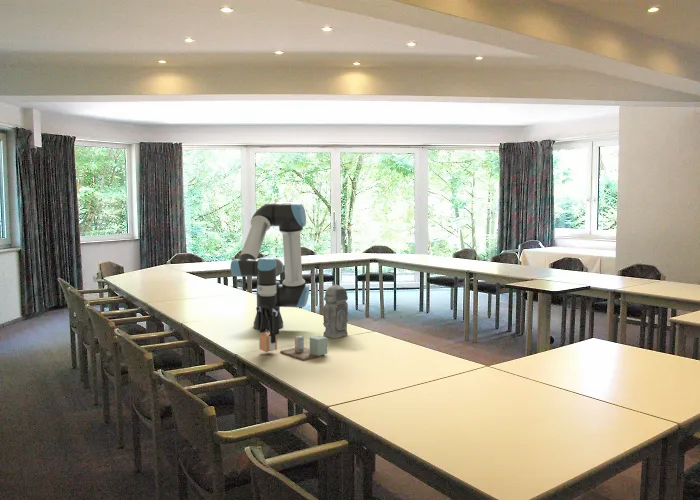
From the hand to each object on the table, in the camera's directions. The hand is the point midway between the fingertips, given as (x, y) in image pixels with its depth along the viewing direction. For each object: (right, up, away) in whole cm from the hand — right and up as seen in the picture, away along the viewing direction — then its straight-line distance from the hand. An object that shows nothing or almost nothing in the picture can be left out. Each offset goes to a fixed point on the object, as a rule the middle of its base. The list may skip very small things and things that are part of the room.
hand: (268, 348), depth 235 cm
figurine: (+27, 0, +33) cm, 43 cm away
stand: (+14, -2, -1) cm, 15 cm away
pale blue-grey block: (+21, -2, -2) cm, 22 cm away
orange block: (0, 0, 0) cm, 0 cm away
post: (+13, -2, +1) cm, 13 cm away
